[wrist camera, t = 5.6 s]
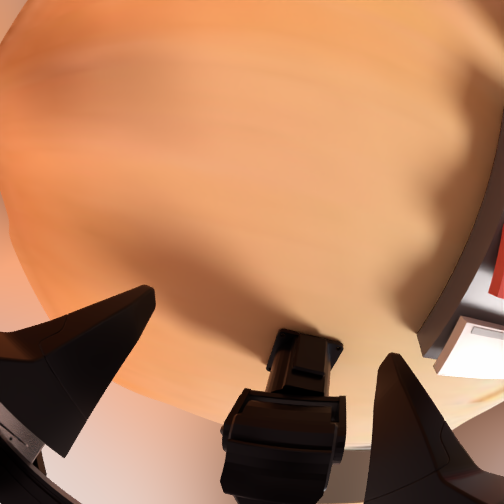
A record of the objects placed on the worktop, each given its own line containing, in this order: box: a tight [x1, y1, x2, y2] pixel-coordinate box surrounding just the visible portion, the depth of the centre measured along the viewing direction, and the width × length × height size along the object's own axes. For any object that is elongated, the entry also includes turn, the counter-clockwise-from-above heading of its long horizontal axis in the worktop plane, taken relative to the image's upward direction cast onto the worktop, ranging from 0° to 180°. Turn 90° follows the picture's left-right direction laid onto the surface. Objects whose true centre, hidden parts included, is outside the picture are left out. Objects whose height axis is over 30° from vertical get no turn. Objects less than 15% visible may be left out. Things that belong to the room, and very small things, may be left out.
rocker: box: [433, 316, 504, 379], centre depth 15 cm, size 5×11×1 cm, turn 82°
